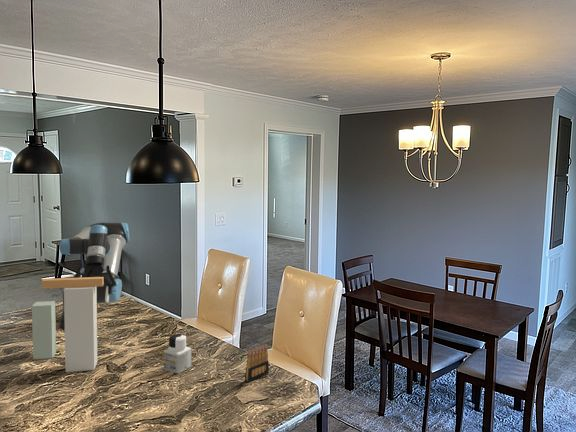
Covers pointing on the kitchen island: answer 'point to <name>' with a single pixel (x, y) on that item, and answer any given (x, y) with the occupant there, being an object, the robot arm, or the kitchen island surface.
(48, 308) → the pale green tall block
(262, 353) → the ammunition clip
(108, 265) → the robot arm
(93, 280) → the bar
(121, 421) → the kitchen island surface
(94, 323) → the post
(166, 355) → the container
